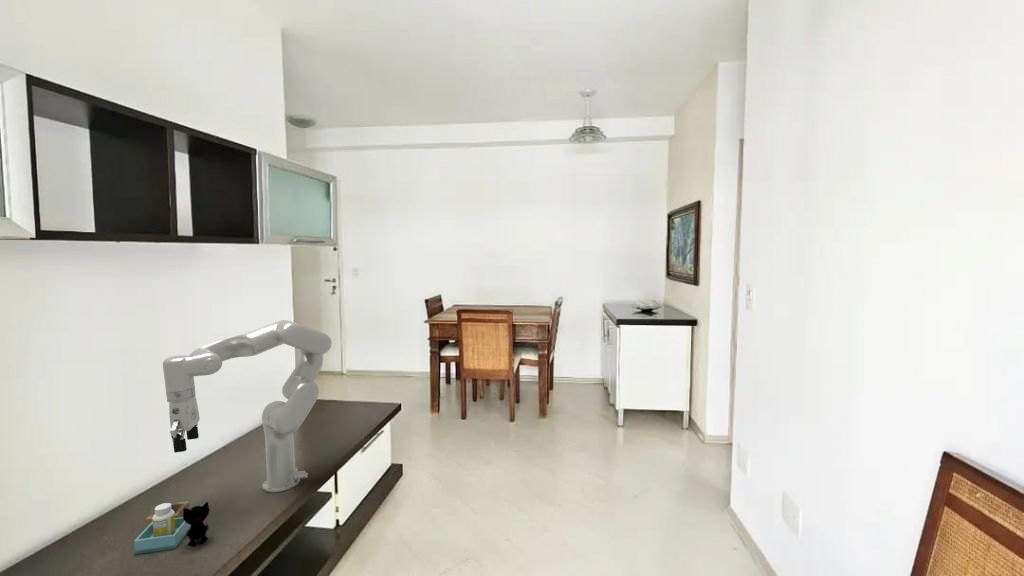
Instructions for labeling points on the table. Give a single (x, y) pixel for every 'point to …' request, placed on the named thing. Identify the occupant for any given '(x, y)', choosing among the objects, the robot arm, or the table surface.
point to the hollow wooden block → (176, 507)
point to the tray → (160, 538)
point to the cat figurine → (196, 523)
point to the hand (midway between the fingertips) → (187, 444)
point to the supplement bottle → (163, 520)
